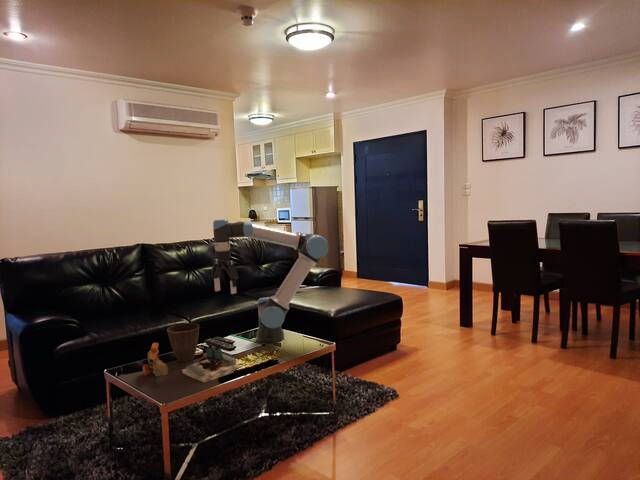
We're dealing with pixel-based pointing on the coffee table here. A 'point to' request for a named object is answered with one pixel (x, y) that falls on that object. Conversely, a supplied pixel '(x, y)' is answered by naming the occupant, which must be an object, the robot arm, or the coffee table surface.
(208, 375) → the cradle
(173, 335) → the plant pot
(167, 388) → the coffee table surface
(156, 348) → the toy helicopter
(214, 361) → the binoculars
